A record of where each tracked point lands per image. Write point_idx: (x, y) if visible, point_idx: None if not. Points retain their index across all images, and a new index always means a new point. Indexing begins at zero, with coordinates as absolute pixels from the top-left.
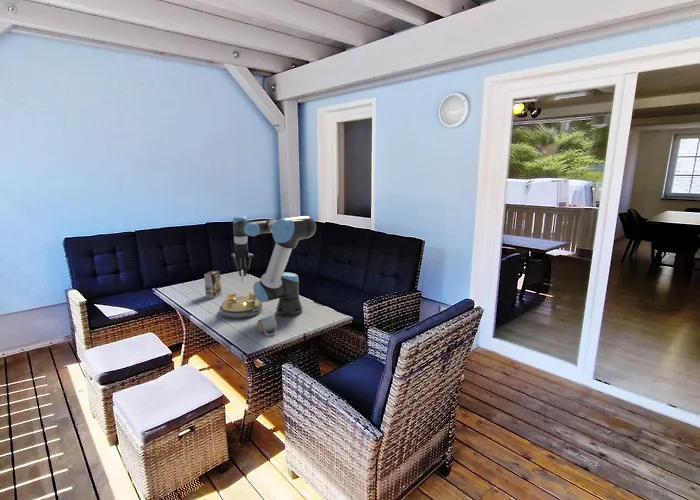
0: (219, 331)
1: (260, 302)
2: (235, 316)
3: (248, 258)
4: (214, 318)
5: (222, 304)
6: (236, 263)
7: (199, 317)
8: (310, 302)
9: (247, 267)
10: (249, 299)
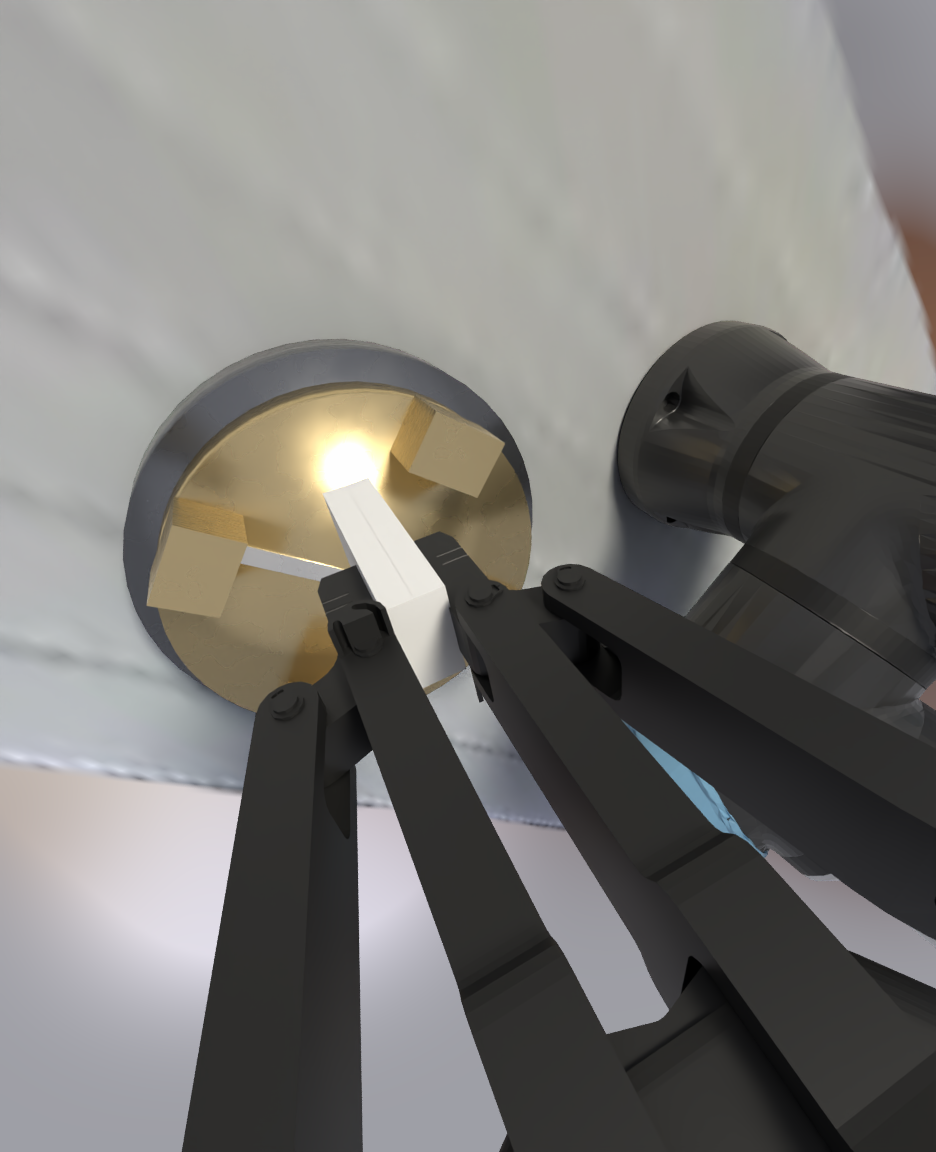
0: (389, 797)
1: (490, 410)
2: None
3: (874, 901)
4: (221, 717)
5: (221, 689)
6: (343, 921)
7: (72, 758)
8: (854, 161)
9: (608, 686)
10: (413, 487)
